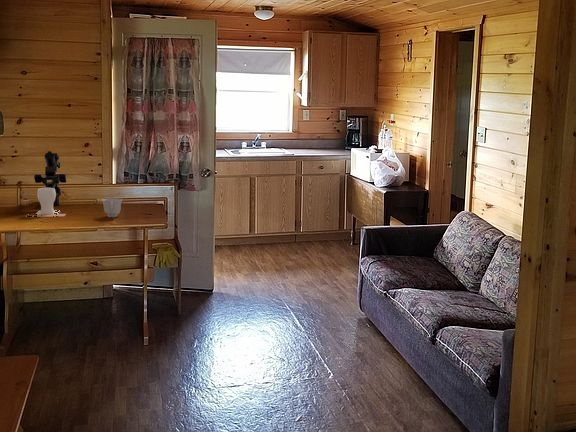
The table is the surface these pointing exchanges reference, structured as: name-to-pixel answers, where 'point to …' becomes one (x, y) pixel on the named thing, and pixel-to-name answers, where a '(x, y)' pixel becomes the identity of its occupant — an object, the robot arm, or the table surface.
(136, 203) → the table surface
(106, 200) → the teacup
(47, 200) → the white vase
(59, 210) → the t mat
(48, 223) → the table surface
